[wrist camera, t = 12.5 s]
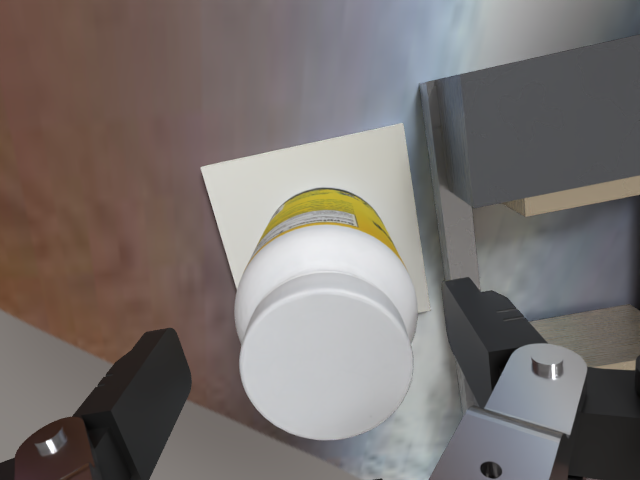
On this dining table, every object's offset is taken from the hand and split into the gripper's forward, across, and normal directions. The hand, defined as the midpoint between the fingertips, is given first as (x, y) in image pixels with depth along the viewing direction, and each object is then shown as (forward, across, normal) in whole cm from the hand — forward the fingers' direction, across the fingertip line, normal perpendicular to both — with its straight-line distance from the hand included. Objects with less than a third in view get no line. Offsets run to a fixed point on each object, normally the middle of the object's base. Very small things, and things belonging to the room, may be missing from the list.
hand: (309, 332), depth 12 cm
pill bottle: (+10, 0, +1) cm, 10 cm away
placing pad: (+10, 0, +1) cm, 10 cm away
